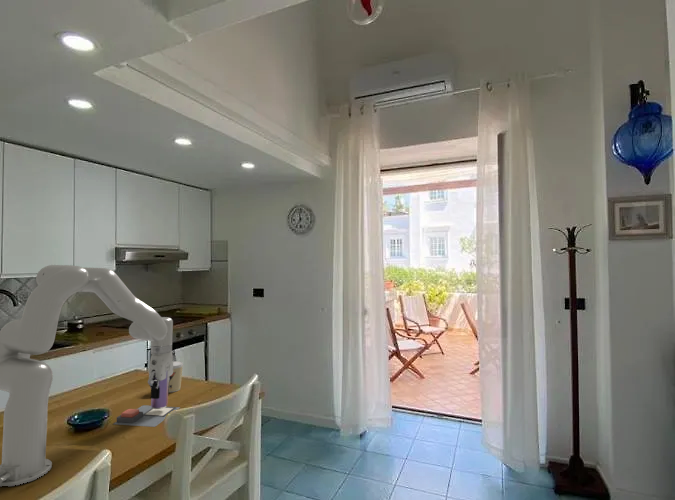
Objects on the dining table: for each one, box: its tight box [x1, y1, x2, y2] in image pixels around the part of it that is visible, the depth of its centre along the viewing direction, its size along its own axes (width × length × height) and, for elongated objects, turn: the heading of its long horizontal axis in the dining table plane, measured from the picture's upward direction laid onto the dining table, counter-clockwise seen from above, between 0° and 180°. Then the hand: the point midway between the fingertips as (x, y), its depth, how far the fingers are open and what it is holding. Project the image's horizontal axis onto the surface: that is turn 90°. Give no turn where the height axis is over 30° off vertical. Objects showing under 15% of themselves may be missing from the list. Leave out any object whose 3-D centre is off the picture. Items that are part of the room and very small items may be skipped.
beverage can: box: [150, 370, 169, 409], centre depth 148 cm, size 6×6×15 cm
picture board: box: [113, 405, 181, 428], centre depth 144 cm, size 18×16×3 cm
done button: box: [120, 408, 139, 418], centre depth 140 cm, size 4×4×2 cm
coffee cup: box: [168, 360, 184, 393], centre depth 176 cm, size 9×9×12 cm
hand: (159, 394), depth 148 cm, fingers closed on beverage can, 6 cm apart
